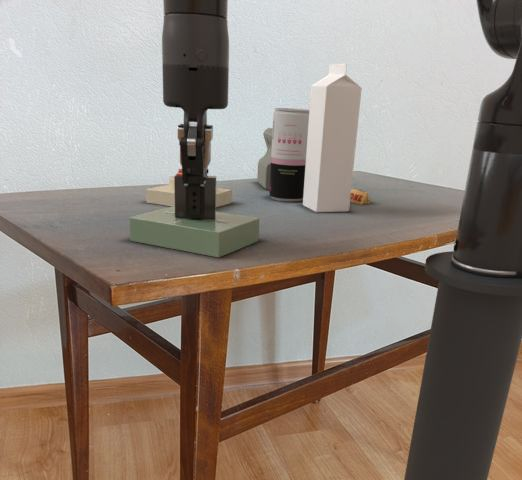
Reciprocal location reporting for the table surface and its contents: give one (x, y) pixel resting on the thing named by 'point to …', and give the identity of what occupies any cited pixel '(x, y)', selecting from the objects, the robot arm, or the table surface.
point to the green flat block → (195, 232)
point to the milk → (331, 141)
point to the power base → (167, 195)
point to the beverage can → (288, 154)
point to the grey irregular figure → (265, 161)
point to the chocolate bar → (359, 197)
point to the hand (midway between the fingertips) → (195, 215)
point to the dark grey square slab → (208, 197)
